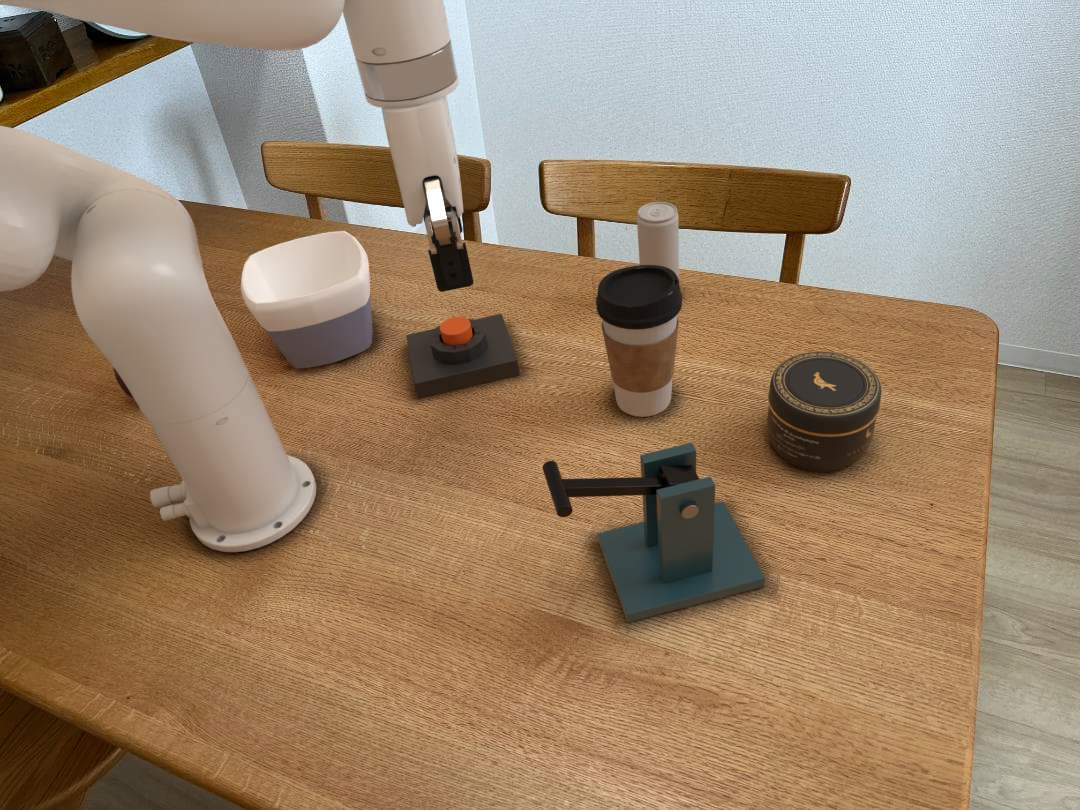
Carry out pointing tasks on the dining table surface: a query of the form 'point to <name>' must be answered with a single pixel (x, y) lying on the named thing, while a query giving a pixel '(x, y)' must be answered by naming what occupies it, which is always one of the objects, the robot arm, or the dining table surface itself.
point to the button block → (462, 358)
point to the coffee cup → (640, 335)
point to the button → (456, 331)
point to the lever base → (678, 546)
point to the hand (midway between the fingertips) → (451, 259)
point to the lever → (611, 484)
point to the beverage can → (658, 235)
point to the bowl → (312, 297)
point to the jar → (822, 410)
